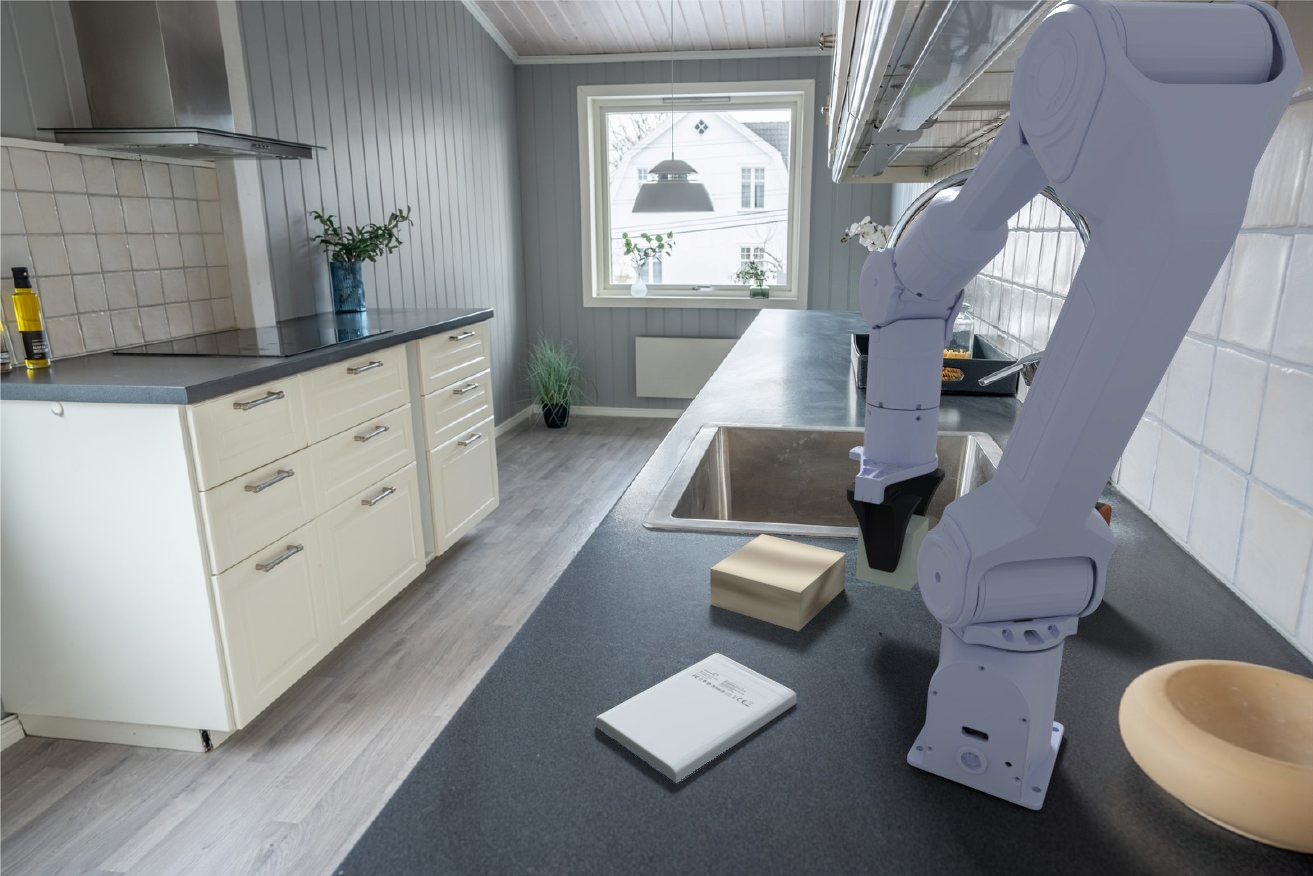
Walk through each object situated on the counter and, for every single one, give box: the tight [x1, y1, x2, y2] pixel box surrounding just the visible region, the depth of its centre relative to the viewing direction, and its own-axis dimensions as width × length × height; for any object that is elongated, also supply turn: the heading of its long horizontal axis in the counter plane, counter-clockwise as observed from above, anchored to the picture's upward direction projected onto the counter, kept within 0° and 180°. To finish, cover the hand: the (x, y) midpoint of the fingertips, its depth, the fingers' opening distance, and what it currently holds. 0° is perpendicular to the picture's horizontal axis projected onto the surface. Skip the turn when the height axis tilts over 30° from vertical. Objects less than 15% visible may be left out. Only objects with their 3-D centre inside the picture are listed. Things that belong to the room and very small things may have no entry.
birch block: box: [709, 533, 847, 632], centre depth 73 cm, size 10×9×4 cm
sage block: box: [855, 514, 930, 592], centre depth 66 cm, size 4×4×5 cm
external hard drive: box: [595, 652, 797, 783], centre depth 56 cm, size 2×8×12 cm
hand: (892, 558), depth 66 cm, fingers closed on sage block, 4 cm apart
